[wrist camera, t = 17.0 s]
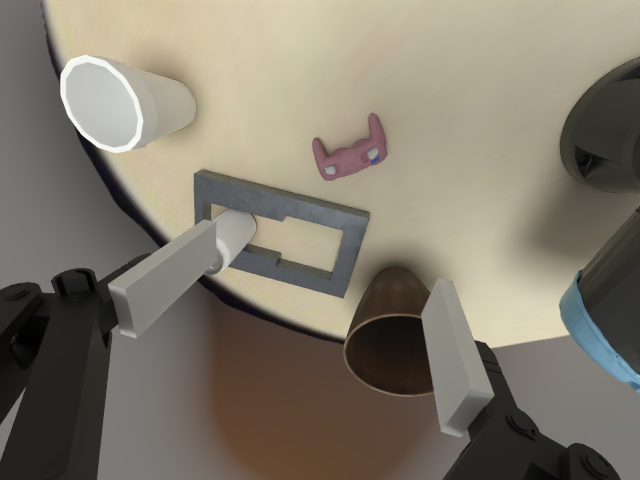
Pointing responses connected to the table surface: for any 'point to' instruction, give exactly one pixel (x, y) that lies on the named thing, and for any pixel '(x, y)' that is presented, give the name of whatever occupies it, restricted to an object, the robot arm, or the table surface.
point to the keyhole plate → (277, 208)
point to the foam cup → (123, 103)
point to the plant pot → (391, 336)
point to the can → (231, 237)
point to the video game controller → (352, 154)
